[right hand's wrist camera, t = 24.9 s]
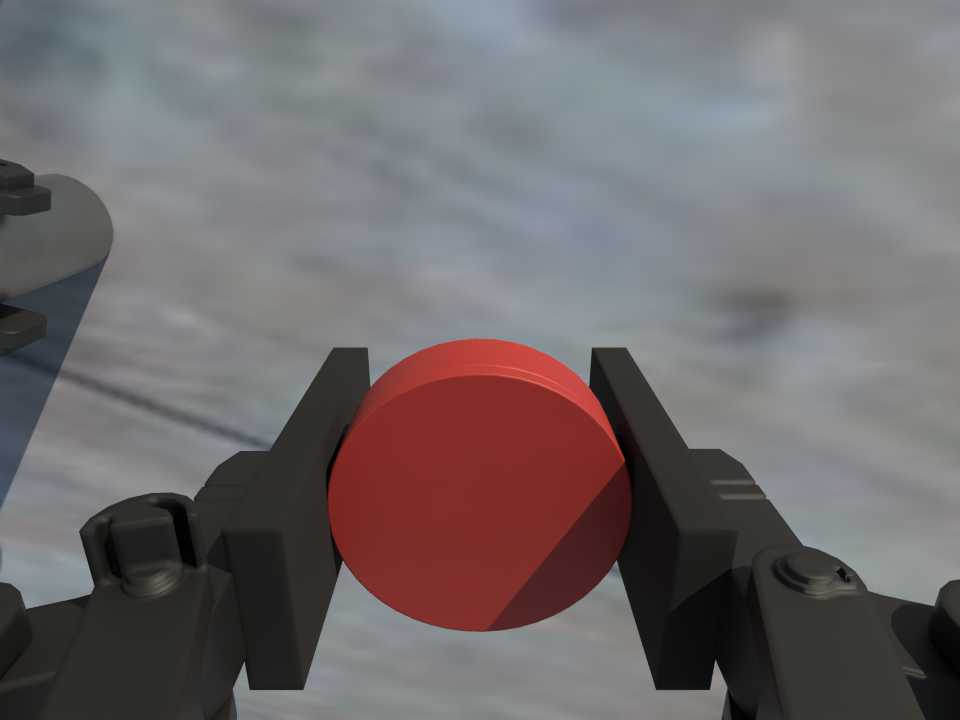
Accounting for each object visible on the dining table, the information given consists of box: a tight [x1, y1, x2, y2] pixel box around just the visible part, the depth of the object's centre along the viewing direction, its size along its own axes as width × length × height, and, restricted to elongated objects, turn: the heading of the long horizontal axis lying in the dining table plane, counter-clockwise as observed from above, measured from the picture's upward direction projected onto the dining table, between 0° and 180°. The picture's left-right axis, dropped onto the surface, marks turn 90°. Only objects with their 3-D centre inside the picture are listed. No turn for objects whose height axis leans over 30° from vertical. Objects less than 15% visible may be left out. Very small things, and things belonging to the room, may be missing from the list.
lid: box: [327, 339, 633, 632], centre depth 11 cm, size 5×5×2 cm
